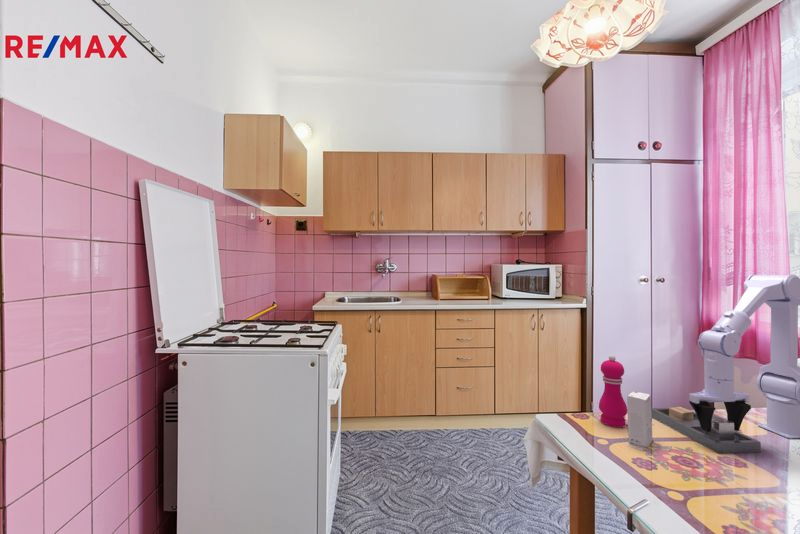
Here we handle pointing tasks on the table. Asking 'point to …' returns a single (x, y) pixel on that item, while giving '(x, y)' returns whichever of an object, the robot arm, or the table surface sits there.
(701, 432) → the grey slotted frame
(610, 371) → the pepper mill
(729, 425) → the grey block with tab
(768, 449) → the table surface
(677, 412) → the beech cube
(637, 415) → the skincare box
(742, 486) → the table surface
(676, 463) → the table surface
